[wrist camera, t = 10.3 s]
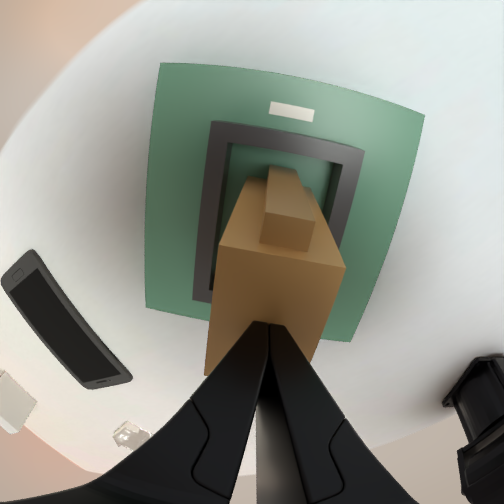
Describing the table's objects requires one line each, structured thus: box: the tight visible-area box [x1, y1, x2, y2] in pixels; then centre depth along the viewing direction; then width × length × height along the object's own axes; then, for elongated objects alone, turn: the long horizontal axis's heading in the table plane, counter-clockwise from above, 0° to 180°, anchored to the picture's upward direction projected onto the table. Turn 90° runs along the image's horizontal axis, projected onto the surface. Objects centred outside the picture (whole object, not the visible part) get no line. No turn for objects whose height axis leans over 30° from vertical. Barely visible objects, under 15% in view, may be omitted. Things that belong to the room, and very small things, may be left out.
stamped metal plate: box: [113, 421, 154, 451], centre depth 29 cm, size 8×7×2 cm
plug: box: [204, 165, 346, 376], centre depth 11 cm, size 5×3×8 cm, turn 170°
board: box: [145, 63, 425, 342], centre depth 15 cm, size 14×13×3 cm
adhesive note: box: [0, 371, 37, 434], centre depth 26 cm, size 6×6×6 cm
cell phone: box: [0, 249, 133, 390], centre depth 22 cm, size 7×14×1 cm, turn 27°
